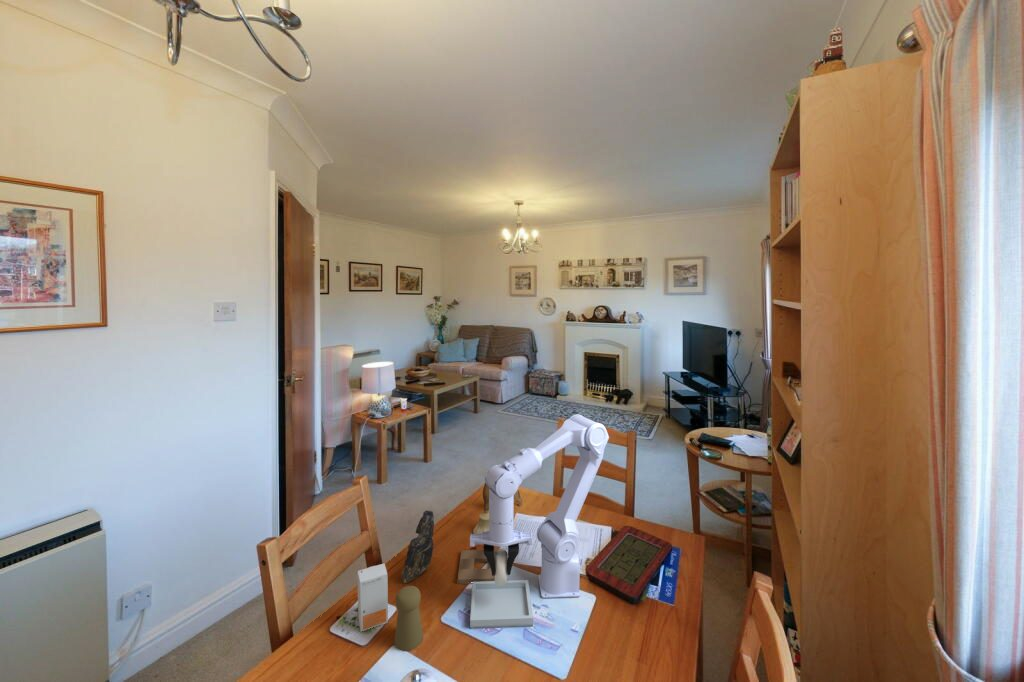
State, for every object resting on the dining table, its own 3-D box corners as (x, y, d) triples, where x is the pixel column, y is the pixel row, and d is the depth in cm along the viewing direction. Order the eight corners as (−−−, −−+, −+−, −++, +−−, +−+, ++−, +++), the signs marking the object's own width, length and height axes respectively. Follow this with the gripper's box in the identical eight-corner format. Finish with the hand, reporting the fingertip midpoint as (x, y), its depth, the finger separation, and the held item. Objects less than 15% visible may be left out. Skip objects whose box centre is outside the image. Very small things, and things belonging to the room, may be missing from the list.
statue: (394, 581, 101) (393, 526, 99) (425, 555, 111) (424, 505, 110) (411, 588, 98) (410, 532, 97) (440, 561, 109) (440, 510, 107)
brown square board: (502, 552, 112) (502, 549, 112) (504, 582, 100) (504, 578, 100) (461, 554, 112) (461, 550, 112) (457, 584, 100) (457, 579, 100)
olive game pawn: (415, 653, 80) (414, 604, 79) (389, 648, 81) (387, 599, 80) (427, 629, 86) (427, 583, 85) (402, 625, 87) (401, 579, 86)
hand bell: (484, 521, 129) (484, 475, 127) (504, 529, 124) (504, 481, 122) (467, 533, 122) (467, 484, 121) (488, 542, 117) (488, 492, 116)
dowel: (506, 576, 94) (506, 548, 93) (507, 585, 91) (508, 556, 90) (494, 577, 93) (494, 549, 93) (495, 586, 90) (495, 557, 90)
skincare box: (360, 633, 85) (358, 582, 84) (358, 619, 88) (356, 570, 87) (389, 623, 87) (387, 573, 86) (385, 610, 91) (384, 562, 90)
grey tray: (528, 587, 99) (528, 580, 99) (532, 626, 87) (533, 618, 87) (472, 589, 98) (472, 581, 98) (470, 628, 86) (470, 620, 86)
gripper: (530, 508, 95) (530, 560, 96) (471, 509, 94) (471, 562, 95) (533, 524, 88) (533, 580, 89) (469, 525, 87) (469, 582, 88)
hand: (501, 572), depth 92 cm, fingers closed on dowel, 3 cm apart
